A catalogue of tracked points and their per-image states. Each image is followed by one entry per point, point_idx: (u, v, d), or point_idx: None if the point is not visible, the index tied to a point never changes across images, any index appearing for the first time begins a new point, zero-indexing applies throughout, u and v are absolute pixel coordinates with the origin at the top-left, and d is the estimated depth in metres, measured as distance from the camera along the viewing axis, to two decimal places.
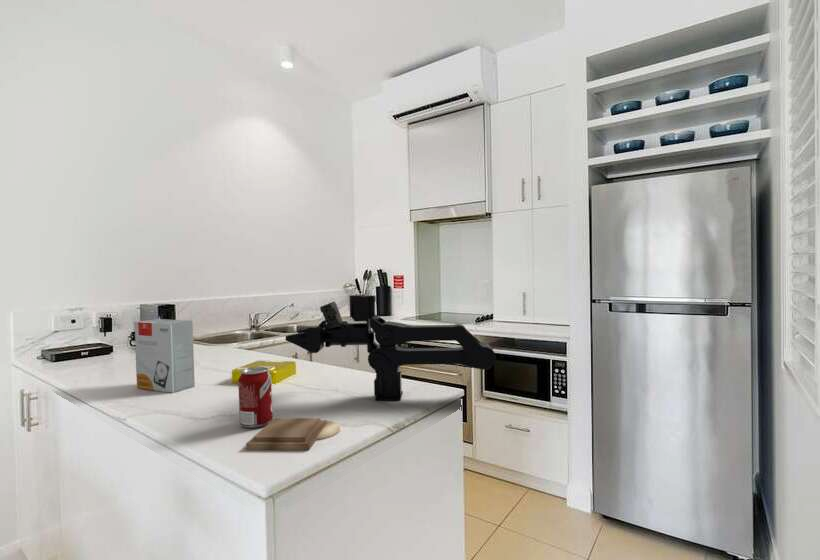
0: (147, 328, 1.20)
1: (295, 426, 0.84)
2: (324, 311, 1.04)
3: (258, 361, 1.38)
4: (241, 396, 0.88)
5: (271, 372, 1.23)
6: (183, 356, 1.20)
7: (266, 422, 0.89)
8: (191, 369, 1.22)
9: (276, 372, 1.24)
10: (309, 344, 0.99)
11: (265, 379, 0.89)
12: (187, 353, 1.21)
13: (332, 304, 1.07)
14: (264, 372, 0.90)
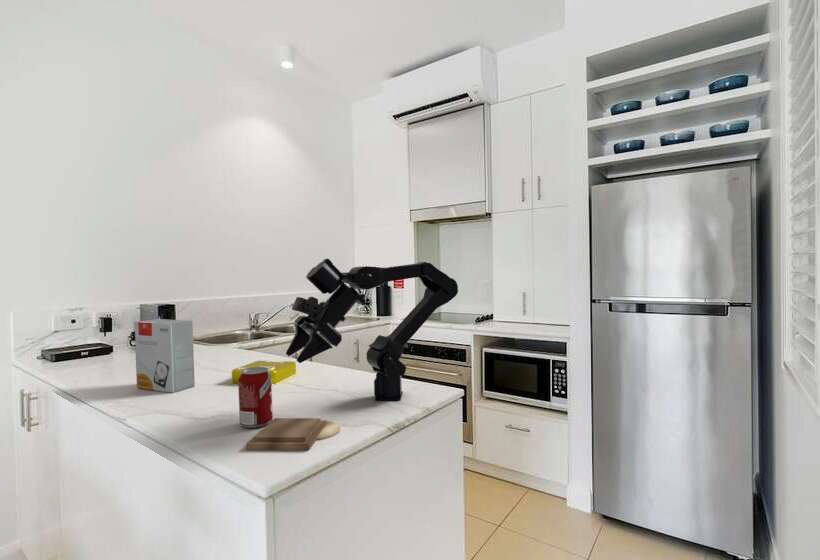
0: (147, 328, 1.20)
1: (295, 426, 0.84)
2: (307, 307, 0.92)
3: (258, 361, 1.38)
4: (241, 396, 0.88)
5: (271, 372, 1.23)
6: (183, 356, 1.20)
7: (266, 422, 0.89)
8: (191, 369, 1.22)
9: (276, 372, 1.24)
10: (331, 340, 0.90)
11: (265, 379, 0.89)
12: (187, 353, 1.21)
13: None
14: (264, 372, 0.90)
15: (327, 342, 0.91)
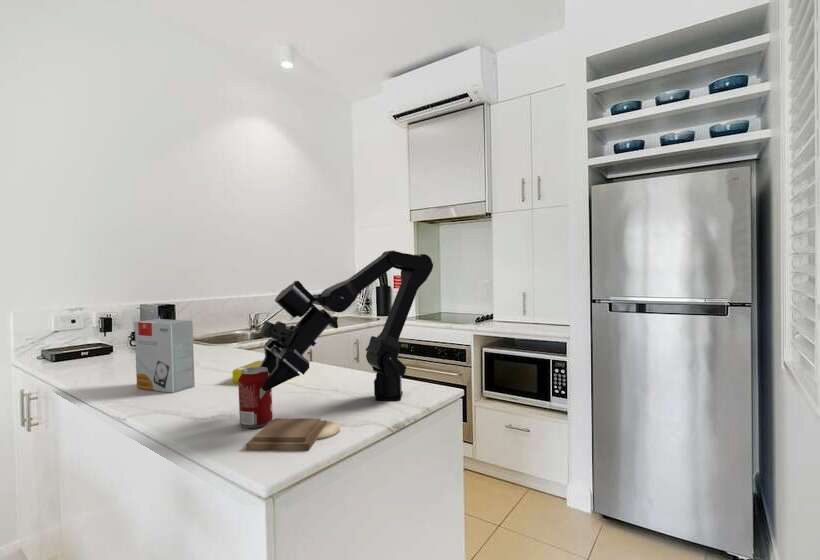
0: (147, 328, 1.20)
1: (295, 426, 0.84)
2: (274, 333, 0.89)
3: (258, 361, 1.37)
4: (241, 396, 0.88)
5: None
6: (183, 356, 1.20)
7: (266, 422, 0.89)
8: (191, 369, 1.22)
9: None
10: (297, 367, 0.86)
11: (265, 379, 0.89)
12: (187, 353, 1.21)
13: None
14: (264, 372, 0.90)
15: (294, 370, 0.87)
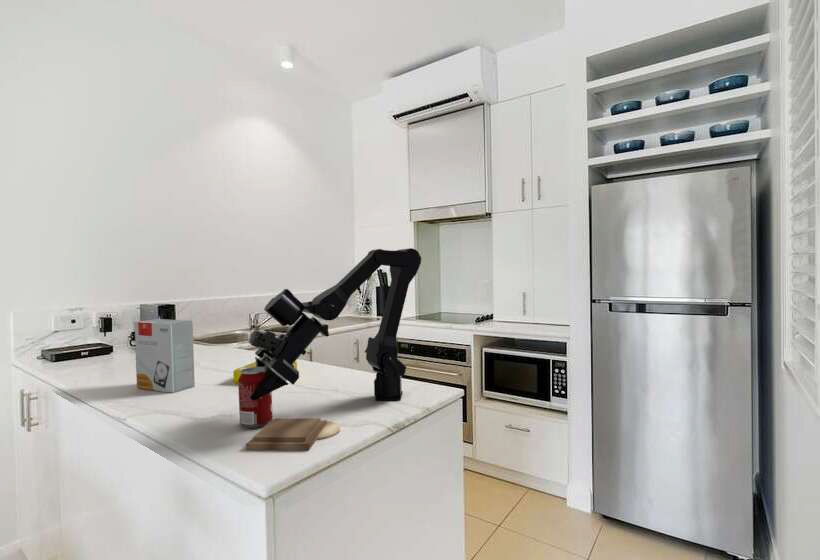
0: (147, 328, 1.20)
1: (295, 426, 0.84)
2: (263, 342, 0.87)
3: None
4: (241, 395, 0.88)
5: None
6: (183, 356, 1.20)
7: (266, 422, 0.89)
8: (191, 369, 1.22)
9: None
10: (286, 378, 0.85)
11: None
12: (187, 353, 1.21)
13: (259, 332, 0.90)
14: (264, 372, 0.90)
15: (282, 379, 0.87)
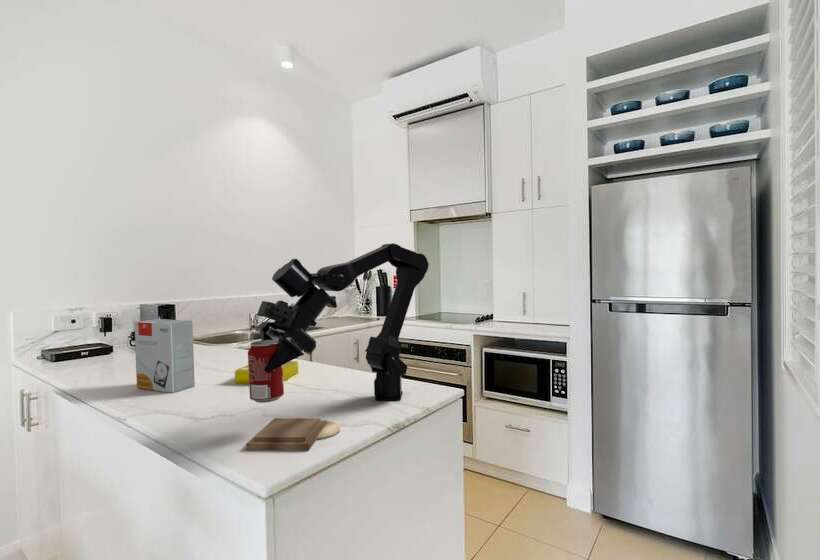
0: (147, 328, 1.20)
1: (295, 426, 0.84)
2: (276, 312, 0.84)
3: None
4: (253, 369, 0.84)
5: None
6: (183, 356, 1.20)
7: (279, 395, 0.86)
8: (191, 369, 1.22)
9: None
10: (305, 347, 0.83)
11: None
12: (187, 353, 1.21)
13: None
14: (276, 344, 0.86)
15: (298, 349, 0.84)
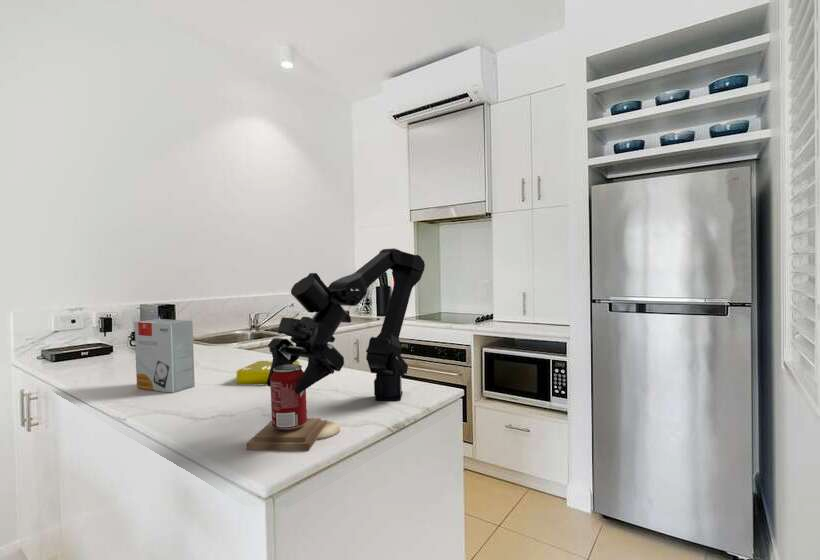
0: (147, 328, 1.20)
1: None
2: (303, 329, 0.81)
3: (260, 361, 1.37)
4: (279, 396, 0.80)
5: None
6: (183, 356, 1.20)
7: (305, 422, 0.83)
8: (191, 369, 1.22)
9: None
10: (336, 364, 0.81)
11: None
12: (187, 353, 1.21)
13: None
14: None
15: (330, 367, 0.81)
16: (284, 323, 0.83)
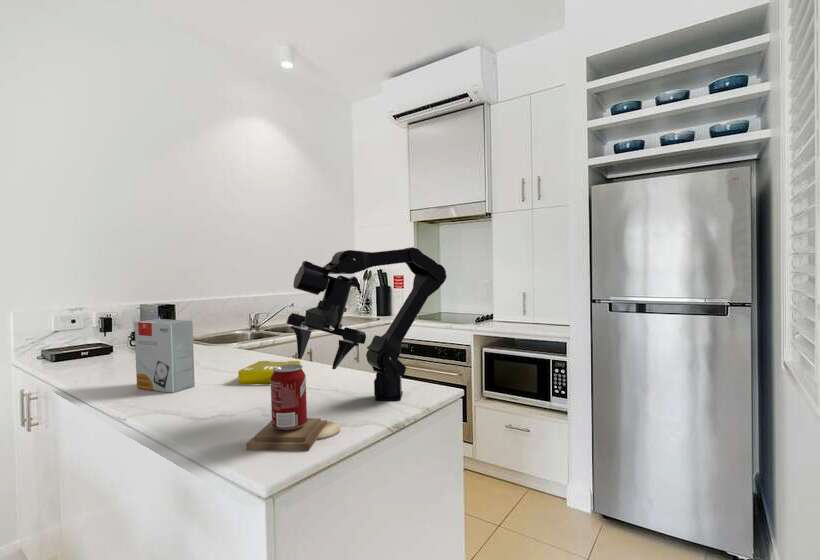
0: (147, 328, 1.20)
1: None
2: (332, 323, 0.92)
3: (261, 361, 1.37)
4: (279, 396, 0.80)
5: None
6: (183, 356, 1.20)
7: (305, 422, 0.83)
8: (191, 369, 1.22)
9: None
10: (362, 342, 0.97)
11: (303, 375, 0.83)
12: (187, 353, 1.21)
13: (319, 314, 0.92)
14: (301, 369, 0.83)
15: (356, 344, 0.98)
16: (311, 318, 0.92)
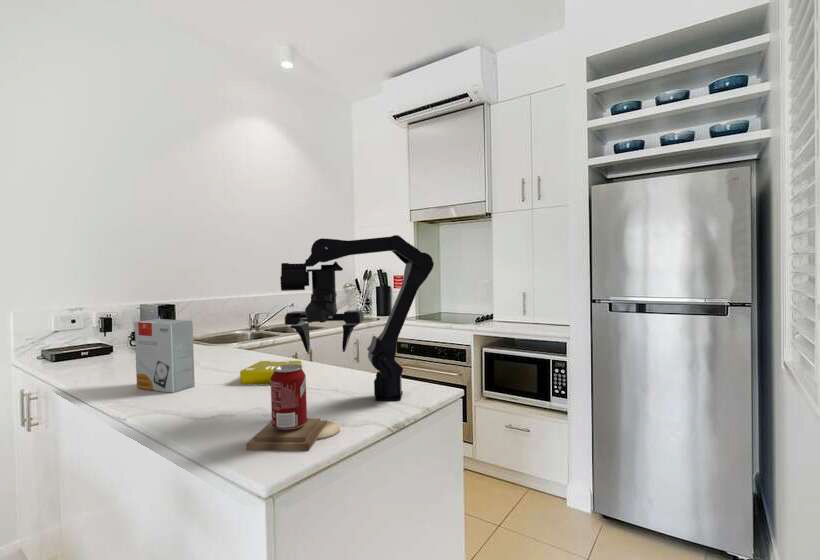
0: (147, 328, 1.20)
1: None
2: (334, 314, 0.97)
3: (262, 361, 1.37)
4: (279, 396, 0.80)
5: None
6: (183, 356, 1.20)
7: (305, 422, 0.83)
8: (191, 369, 1.22)
9: None
10: (362, 320, 1.04)
11: (303, 376, 0.83)
12: (187, 353, 1.21)
13: (319, 309, 0.95)
14: (301, 369, 0.83)
15: (357, 323, 1.04)
16: (313, 315, 0.95)
